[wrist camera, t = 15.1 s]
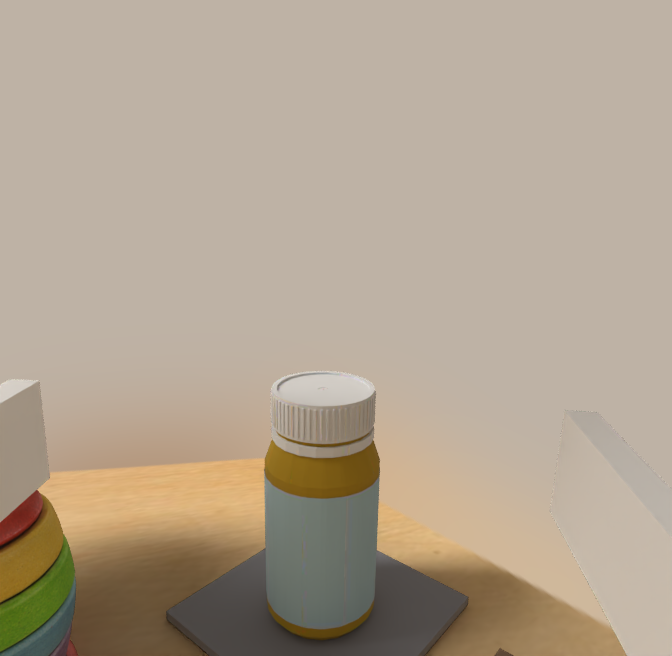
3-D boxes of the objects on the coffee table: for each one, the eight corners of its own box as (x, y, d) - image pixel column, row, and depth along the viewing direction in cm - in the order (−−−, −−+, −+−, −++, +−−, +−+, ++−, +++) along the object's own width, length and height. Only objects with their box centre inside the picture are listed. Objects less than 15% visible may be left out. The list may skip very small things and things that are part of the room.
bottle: (339, 557, 41) (343, 363, 37) (395, 619, 35) (407, 396, 31) (250, 589, 37) (245, 378, 34) (296, 664, 31) (296, 418, 28)
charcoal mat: (166, 619, 35) (166, 611, 35) (313, 524, 46) (313, 517, 46) (334, 761, 27) (334, 751, 27) (467, 604, 37) (468, 596, 37)
